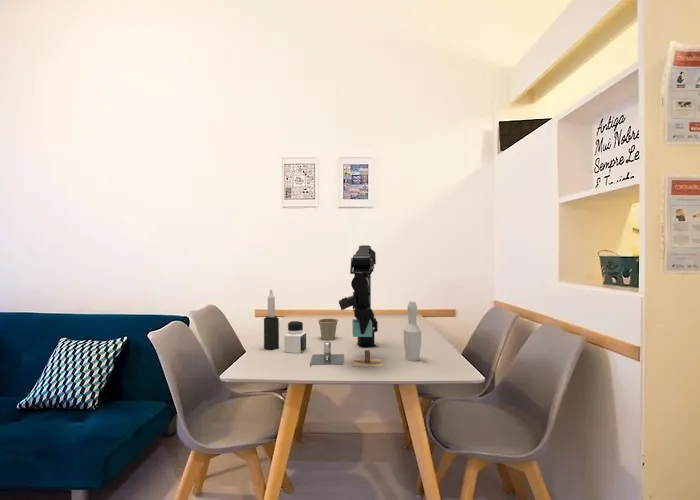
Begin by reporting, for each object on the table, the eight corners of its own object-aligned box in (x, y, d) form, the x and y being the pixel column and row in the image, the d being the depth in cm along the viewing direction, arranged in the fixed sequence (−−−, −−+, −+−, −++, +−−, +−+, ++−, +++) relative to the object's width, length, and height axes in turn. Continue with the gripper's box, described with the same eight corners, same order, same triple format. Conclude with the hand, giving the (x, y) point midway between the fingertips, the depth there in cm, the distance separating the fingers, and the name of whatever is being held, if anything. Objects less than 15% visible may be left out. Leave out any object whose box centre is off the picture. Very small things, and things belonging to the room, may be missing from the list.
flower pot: (337, 341, 173) (337, 322, 173) (317, 341, 173) (317, 322, 173) (338, 336, 182) (338, 318, 182) (319, 336, 183) (319, 318, 183)
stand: (353, 359, 144) (353, 347, 144) (379, 359, 144) (379, 347, 144) (354, 368, 134) (354, 354, 134) (382, 367, 134) (382, 354, 134)
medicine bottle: (300, 353, 153) (300, 323, 153) (284, 352, 155) (284, 322, 155) (306, 348, 160) (306, 320, 160) (290, 348, 162) (290, 319, 162)
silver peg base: (312, 357, 148) (312, 339, 148) (343, 356, 148) (343, 338, 148) (309, 366, 136) (309, 346, 136) (343, 366, 136) (343, 346, 136)
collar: (352, 332, 143) (352, 319, 143) (370, 332, 143) (370, 319, 143) (353, 336, 136) (353, 322, 136) (372, 336, 136) (372, 322, 136)
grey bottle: (400, 359, 145) (400, 301, 145) (414, 357, 147) (414, 300, 147) (409, 363, 139) (409, 303, 139) (424, 361, 141) (424, 302, 141)
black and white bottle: (273, 346, 165) (272, 288, 165) (280, 348, 161) (279, 289, 161) (262, 348, 161) (262, 289, 161) (269, 350, 158) (269, 290, 157)
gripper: (339, 286, 148) (339, 326, 149) (339, 292, 130) (340, 338, 130) (368, 286, 149) (368, 326, 149) (372, 292, 130) (372, 337, 130)
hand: (362, 331), depth 139 cm, fingers closed on collar, 7 cm apart
